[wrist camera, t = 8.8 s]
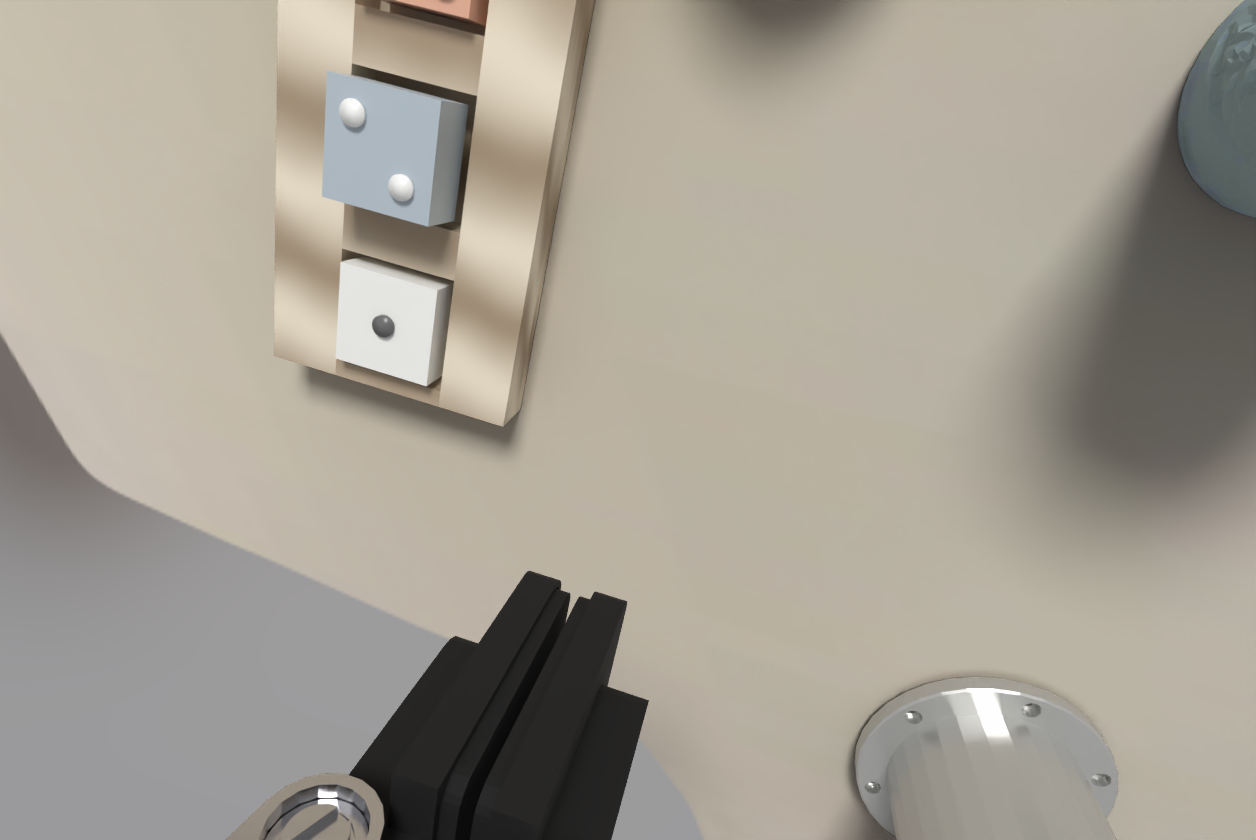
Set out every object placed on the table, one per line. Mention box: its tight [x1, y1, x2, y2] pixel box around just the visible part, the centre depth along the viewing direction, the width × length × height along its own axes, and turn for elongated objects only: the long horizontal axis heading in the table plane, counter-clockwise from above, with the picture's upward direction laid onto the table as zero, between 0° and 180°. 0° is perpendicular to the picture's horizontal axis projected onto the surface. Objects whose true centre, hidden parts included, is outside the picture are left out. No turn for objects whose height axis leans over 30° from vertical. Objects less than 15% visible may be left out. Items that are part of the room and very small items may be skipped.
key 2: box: [322, 71, 469, 227], centre depth 26 cm, size 5×5×3 cm
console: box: [274, 0, 595, 427], centre depth 29 cm, size 22×12×2 cm, turn 167°
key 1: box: [336, 256, 454, 386], centre depth 31 cm, size 5×5×3 cm
